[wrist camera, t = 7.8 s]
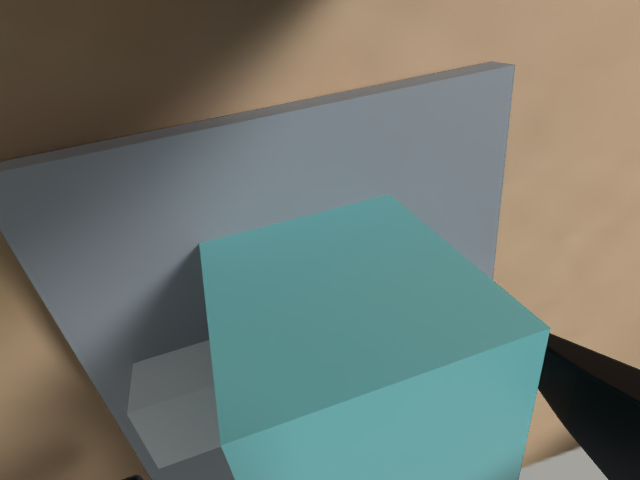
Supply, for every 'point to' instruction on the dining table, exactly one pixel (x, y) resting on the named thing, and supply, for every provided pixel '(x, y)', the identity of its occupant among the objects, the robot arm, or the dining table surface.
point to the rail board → (234, 227)
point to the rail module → (366, 352)
